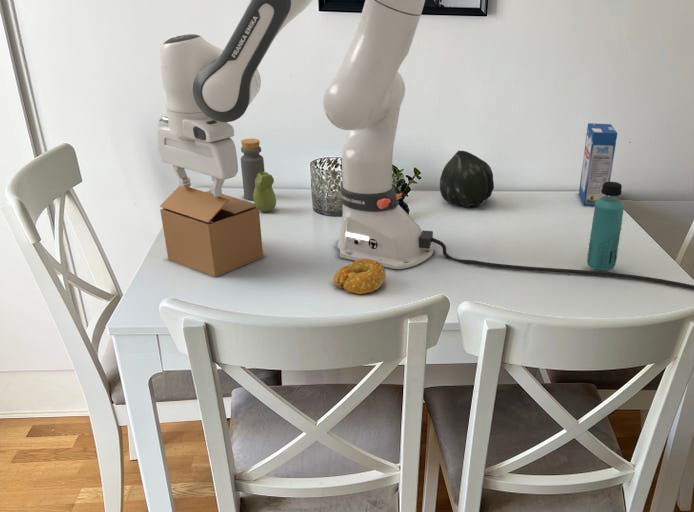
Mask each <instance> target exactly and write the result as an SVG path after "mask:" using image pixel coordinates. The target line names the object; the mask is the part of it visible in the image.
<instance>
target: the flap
mask: <svg viewBox="0 0 694 512" xmlns="http://www.w3.org/2000/svg"><path fill="white" fill-rule="evenodd" d="M228 201H229V199H226V198H223V197H214V196H211V194H210V193H207V191H203V190H200V189H196V188H193V187H191V186H190V187H186V188H185V187H182V186H180V185H178V187H177V188H175V190H173V192H172V193H171V194H170V195H168V196H167V198H166V199H165V200H163V202H162V203H161V204H160V205H159V207H160V208H161V209H163V208H165V209H168V210H171V211H174V212H177V213H180V214H183V215H186V216H189V217H192V218H195V219H198V220H201V221H204V222H207V223H209V222H210V221H211V220H212V218H213V217H214V216H215V215H216V214H217V213H218V212H219V211H220V210H221V209H222V208H223V206H224V205H225V204H226V203H227V202H228Z"/></svg>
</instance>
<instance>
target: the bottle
mask: <svg viewBox="0 0 694 512" xmlns="http://www.w3.org/2000/svg"><path fill="white" fill-rule="evenodd" d="M240 143H241V147H240V152H241V153H242V154H243V155H242V156H241V157H240V168H241V177H242V189H243V196H244V199H246V200H247V201H254V198H253V193H254V189H255V178H256V177H257V174H259V172H266V171H265V162H264V156H262V155H261V154H260V153H261V152H262V147H261V146H260V143H261V141H260V139H258V138H243V139H241V140H240Z"/></svg>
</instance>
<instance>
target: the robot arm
mask: <svg viewBox="0 0 694 512" xmlns="http://www.w3.org/2000/svg"><path fill="white" fill-rule="evenodd" d="M312 2H313V0H249V2H248V4H247V6H246V8H245V11H244V13H243V15H242V17H241V19H240V20H239V22H238V23H237V26H236V27H235V30H234V32H233V33H232V35H231V36H230V38H229V40H228V42H227V44H226V45H225V47H224V49H221V48H220V47H218V46H216V45H213V44H212V43H210V42H209V41H207V40H206V39H205V38H204V37H203V36H201V35H199V34H196V33H195V34H192V33H191V34H183V35H178V36H177V35H176V36H174V37H171V38H169V39H167V40H165V41H164V43H163V44H161V47H160V70H161V81H162V86H163V89H164V91H165V94H166V103H165V108H166V116H164V115H163V116H161V118H159V120H158V121H157V132H156V143H157V144H156V145H157V154H158V158H159V159H160V161H161V162H162V163H165V164H168V165H172V169H173V172H174V173H175V175H176V177H177V179H178V183H179V185H178V186H182V187H185V188H186V187H190V188H191V186H192V185H191V184H192V183H191V178H190V177H189V176H188V175H187V172H186V170H190V171H192V172H196V173H200V174H201V175H202V174H203V175H206V176H209V177H211V181H212V182H213V185H212V186H211V187H209V191H210V192H211V193H210V194H211V196H214V197H220V196H221V195H222V194H223V190H222V187H223V186H224V183H225V181H226V180H228V179H231V178H232V179H233V178H235V177H236V176H237V175H238V172H239V163H238V153H237V148H236V144H235V142H234V140H233V139H232V138H233V137H234V136H235V129H234V127H233V126H232V125H231V122H235V121H237V120H239V119H240V118H242V117H243V115H245V113H246V112H247V109H248V108H249V106H250V105H251V103H252V102H253V101H254V100H255V99H256V97H257V95H258V93H259V92H260V88H261V82H262V81H261V76H260V75H261V74H260V72H259V69H258V67H260V64H261V63H262V61H263V59H264V57H265V56H266V54H267V52H268V50H269V49H270V47H271V45H272V44H273V42H274V40H275V39H276V37H277V36H278V35H279V33H280V32H281V31H282V30H283V29H284V28H285V27H286V26H287V25H288V24H290V22H291V21H292V20H294V19H295V18H296V17H297V16H298V15H299V14H301V13H302V12H303V11H304V10H305V9H306V8H307V7H308V6H309V5H311V3H312ZM425 3H426V0H364V3H363V7H362V10H361V13H360V18H359V22H358V25H357V28H356V31H355V34H354V36H353V39H352V40H351V43H350V45H349V46H348V49H347V51H346V52H345V55H344V56H343V57H344V58H343V59H342V62H341V64H340V66H339V67H338V70H337V72H336V74H335V77H333V78H334V79H333V80H332V82H331V83H330V85H329V86H328V87H327V89H326V90H325V92H324V95H323V99H322V105H323V111H324V113H325V115H326V118H327V119H328V121H329V122H330V123H331V124H332V125H333V126H335V128H337V129H340V130H343V131H347V134H346V139H345V142H344V144H343V146H342V150H341V177H342V179H341V180H342V184H341V186H340V203H341V204H342V217H341V225H340V233H339V237H338V241H337V249H338V250H339V258H341V259H345V260H349V261H353V262H355V261H356V260H361V259H370V260H374V261H377V262H379V263H380V264H381V265H383V267H384V268H389V269H393V270H403V269H409V268H411V267H412V268H413V267H415V266H417V265H420V264H422V263H423V262H425V261H427V260H428V259H430V258H431V257H432V255H433V253H434V251H433V250H434V249H433V247H432V244H433V243H434V244H436V245H439V247H441V249H442V255H443V256H444V257H445V258H446V259H448V260H450V261H454V262H457V263H461V264H465V265H477V266H482V267H488V268H496V269H497V268H499V269H508V270H509V269H510V270H519V271H529V272H546V273H556V274H557V273H559V274H574V275H575V274H576V275H587V276H600V277H601V276H602V277H612V278H620V279H621V278H622V279H630V280H637V281H638V280H639V281H645V282H650V283H651V282H652V283H657V284H662V285H668V286H674V287H679V288H685V289H690V290H694V284H689V283H684V282H680V281H675V280H674V281H673V280H669V279H664V278H657V277H651V276H643V275H638V274H628V273H620V272H610V271H601V270H587V269H573V268H555V267H542V266H541V267H540V266H527V265H516V264H515V265H514V264H505V263H494V262H486V261H482V260H475V259H461V258H460V259H459V258H456V257H455V258H454V257H452V256H451V255H450V254H448V252H447V246H446V244H445V243H444V242H443V241H441V240H439V239H436V238H434V231H433V230H424V229H423V230H422V228H421V226H420V225H419V224H418V223H417V222H416V221H415V220H414V219H413V217H411V216H410V215H409V214H408V213H407V211H406V210H404V209H403V207H402V206H400V204H399V203H400V202H399V200H400V199H402V198H403V196H402V195H403V192H400V193H397V192H396V189H395V186H394V185H393V161H394V160H393V159H394V157H393V156H394V155H393V154H394V145H395V140H396V134H397V128H398V122H399V117H400V111H401V106H402V103H403V101H404V98H405V96H406V83H405V81H404V79H403V76H402V75H401V73H400V72H399V69H400V67H401V65H402V64H403V62H404V60H405V59H406V57H407V56H408V55H409V52H410V50H411V47H412V43H413V41H414V37H415V35H416V31H417V28H418V25H419V21H420V19H421V17H422V12H423V9H424V6H425Z"/></svg>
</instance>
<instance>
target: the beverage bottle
mask: <svg viewBox="0 0 694 512" xmlns="http://www.w3.org/2000/svg"><path fill="white" fill-rule="evenodd" d="M622 188H623V185H622V183H620V182H617V181H610V182H605V183H604V184H603V187H602V191H601V192H602V194H604V195H608V196H604V197H601V198H600V199H598V200H597V201H596V202H595V207H594V208H593V209H594V210H593V216H592V223H591V228H590V229H591V230H590V235H589V242H588V248H587V256H586V263H587V266H588V267H589V268H591V269H593V270H595V271H611V270H613V269H615V266H616V265H617V264H616V263H617V260H618V254H619V252H618V251H619V247H620V246H619V245H620V239H621V237H620V236H621V231H622V227H623V226H622V225H623V216H624V210H625V204H624V202H623V201H622V200H621V199H620V198H619V197H618V196H621V195H622Z"/></svg>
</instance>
